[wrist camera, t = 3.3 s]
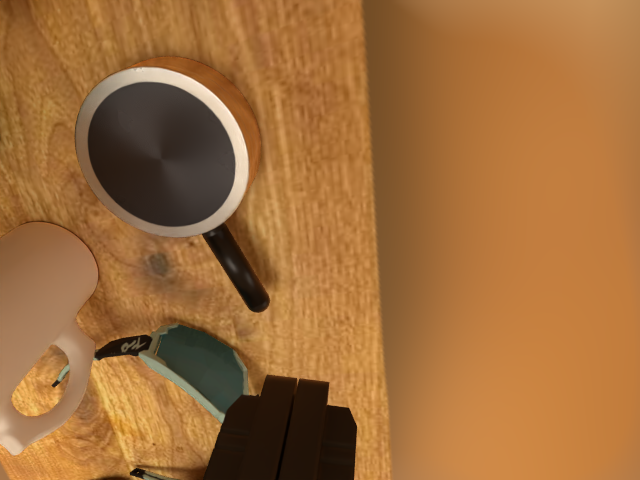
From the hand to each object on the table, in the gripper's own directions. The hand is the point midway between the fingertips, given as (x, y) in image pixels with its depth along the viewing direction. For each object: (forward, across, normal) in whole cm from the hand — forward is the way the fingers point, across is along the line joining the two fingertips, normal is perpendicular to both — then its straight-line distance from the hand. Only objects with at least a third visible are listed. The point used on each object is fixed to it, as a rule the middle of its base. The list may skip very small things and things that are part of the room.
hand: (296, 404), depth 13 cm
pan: (+18, +8, +3) cm, 20 cm away
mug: (+18, +17, +10) cm, 27 cm away
